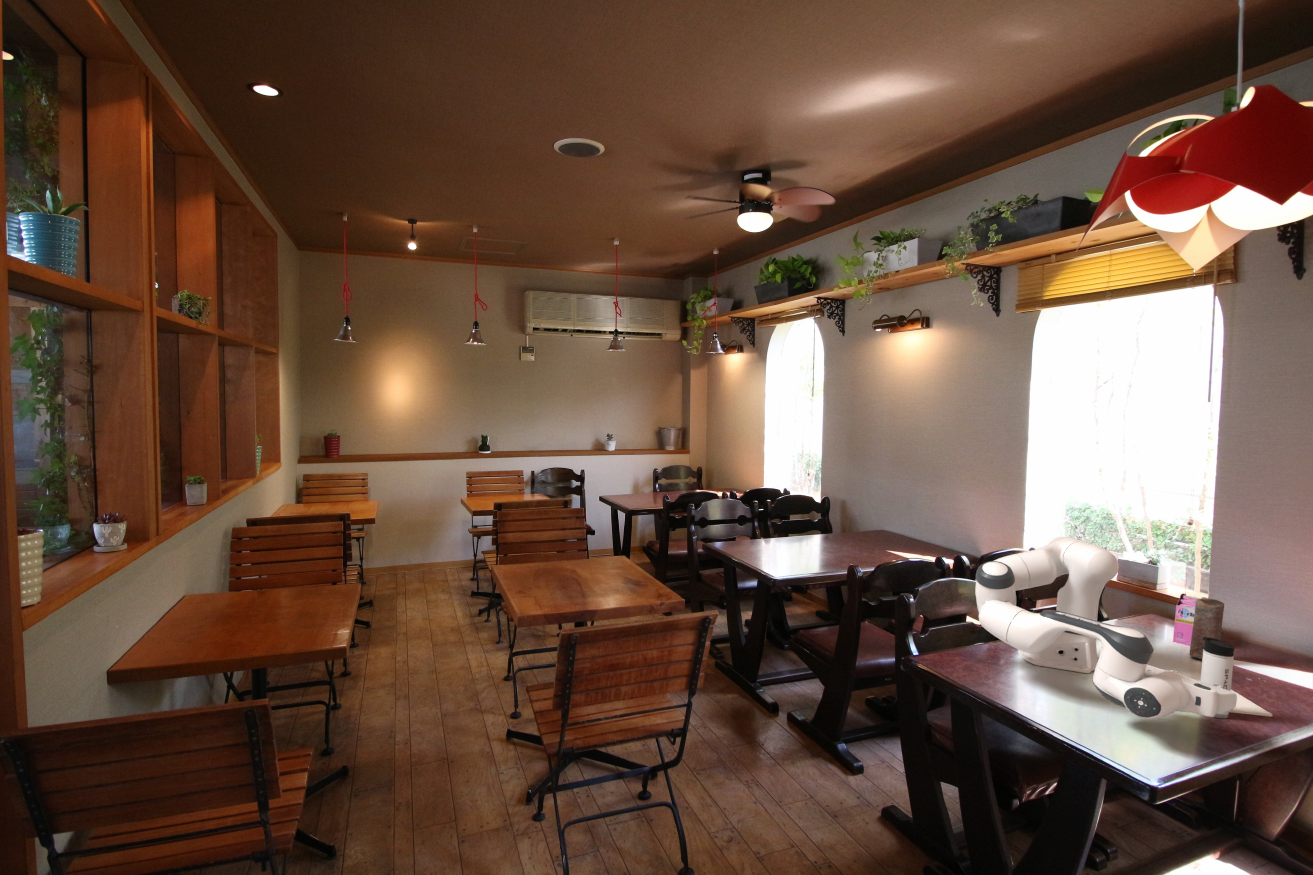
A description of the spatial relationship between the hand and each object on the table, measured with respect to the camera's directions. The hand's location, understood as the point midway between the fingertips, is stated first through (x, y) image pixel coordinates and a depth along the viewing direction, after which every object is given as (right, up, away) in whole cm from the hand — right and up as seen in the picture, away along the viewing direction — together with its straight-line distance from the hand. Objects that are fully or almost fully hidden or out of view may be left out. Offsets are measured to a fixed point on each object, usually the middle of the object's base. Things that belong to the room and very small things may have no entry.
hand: (1196, 680), depth 172 cm
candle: (+41, -11, +47) cm, 63 cm away
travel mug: (+10, -11, +7) cm, 16 cm away
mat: (+21, -11, +15) cm, 28 cm away
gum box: (+54, -10, +69) cm, 89 cm away
